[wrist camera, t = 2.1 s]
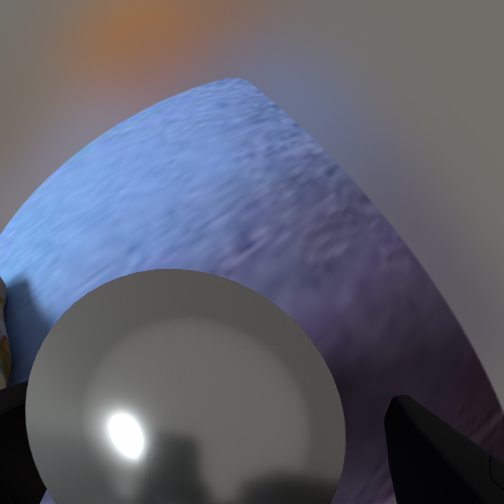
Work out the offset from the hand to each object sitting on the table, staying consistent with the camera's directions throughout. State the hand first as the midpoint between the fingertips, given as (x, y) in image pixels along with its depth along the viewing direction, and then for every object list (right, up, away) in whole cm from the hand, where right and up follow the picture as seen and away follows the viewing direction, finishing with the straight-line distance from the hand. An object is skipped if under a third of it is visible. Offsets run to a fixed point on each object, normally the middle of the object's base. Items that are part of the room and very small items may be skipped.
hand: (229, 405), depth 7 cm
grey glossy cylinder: (0, -4, +6) cm, 8 cm away
